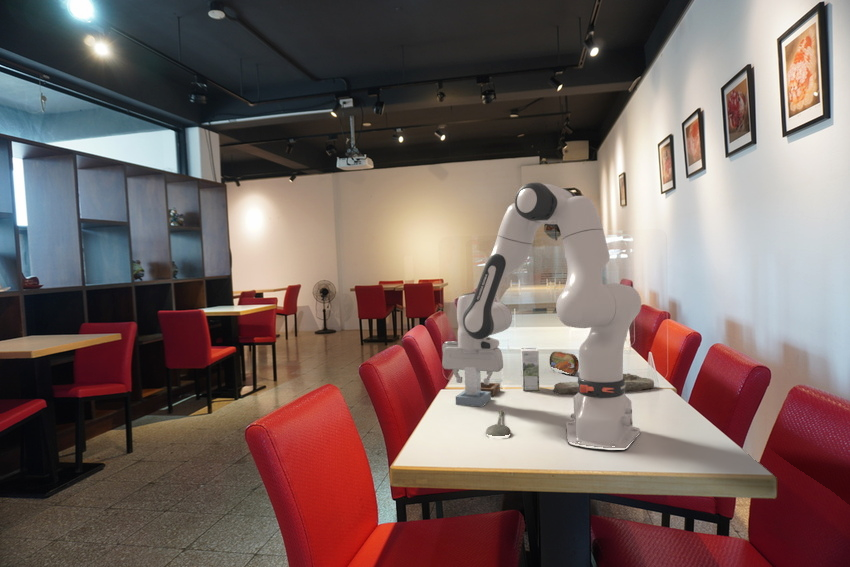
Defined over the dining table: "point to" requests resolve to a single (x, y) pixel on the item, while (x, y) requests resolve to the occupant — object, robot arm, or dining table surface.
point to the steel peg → (472, 382)
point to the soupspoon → (498, 428)
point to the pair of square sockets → (485, 395)
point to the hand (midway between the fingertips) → (472, 383)
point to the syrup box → (530, 369)
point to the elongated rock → (630, 380)
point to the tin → (564, 362)
